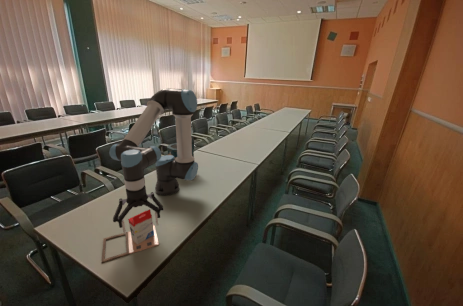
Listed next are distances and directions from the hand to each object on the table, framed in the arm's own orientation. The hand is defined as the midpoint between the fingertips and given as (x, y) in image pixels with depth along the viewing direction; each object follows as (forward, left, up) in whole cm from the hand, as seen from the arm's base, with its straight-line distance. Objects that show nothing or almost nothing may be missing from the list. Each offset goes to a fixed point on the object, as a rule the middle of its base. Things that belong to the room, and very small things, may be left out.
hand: (141, 227), depth 93 cm
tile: (0, 0, -6) cm, 6 cm away
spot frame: (+11, 0, -6) cm, 13 cm away
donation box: (-34, -65, -6) cm, 74 cm away
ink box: (0, 0, -6) cm, 6 cm away
